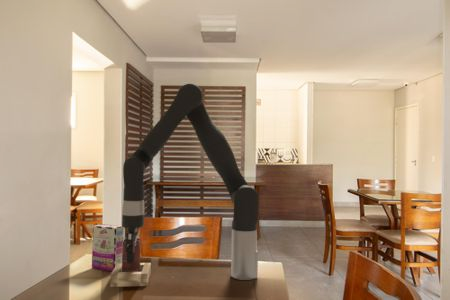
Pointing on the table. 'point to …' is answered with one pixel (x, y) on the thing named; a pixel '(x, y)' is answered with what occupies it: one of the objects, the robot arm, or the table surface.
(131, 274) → the frame
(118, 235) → the candy bar box
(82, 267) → the table surface
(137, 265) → the can
